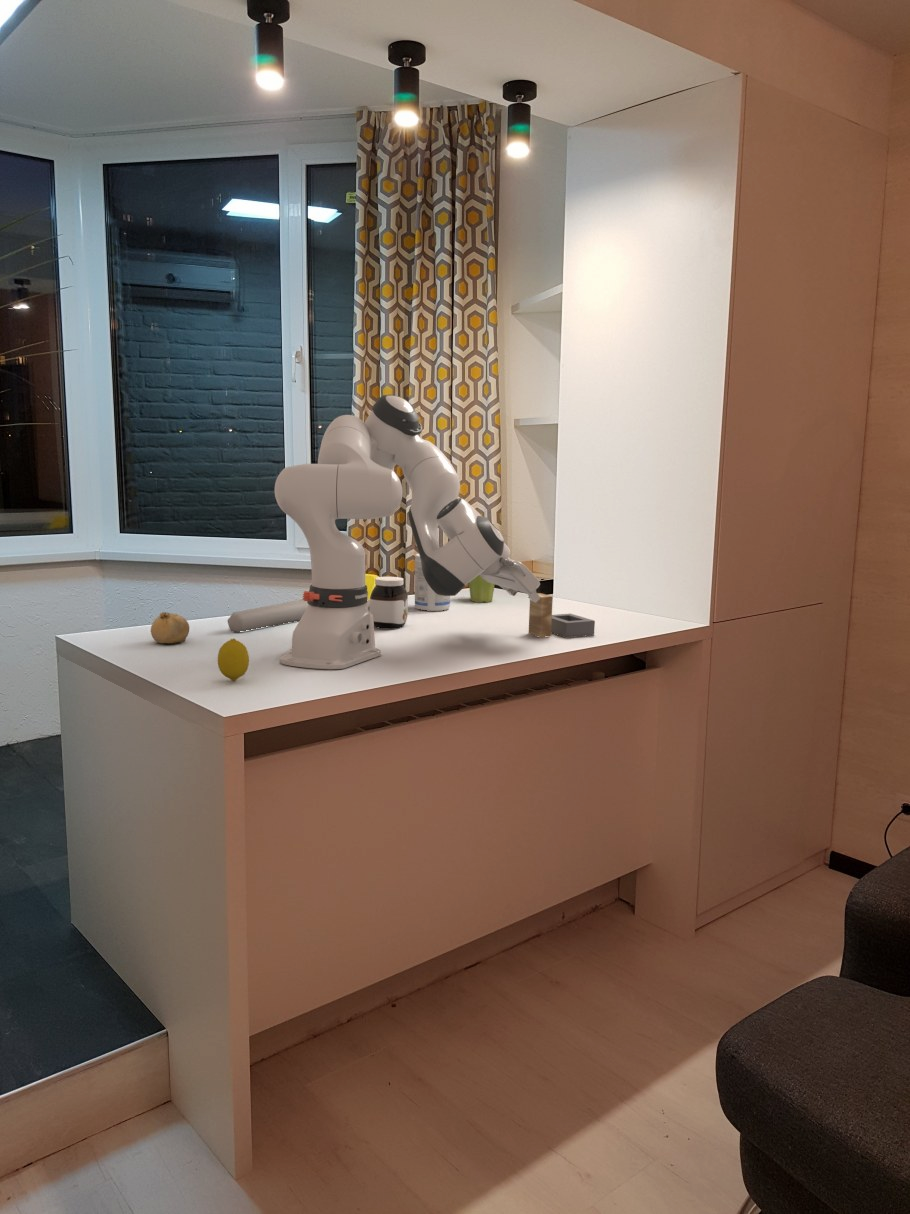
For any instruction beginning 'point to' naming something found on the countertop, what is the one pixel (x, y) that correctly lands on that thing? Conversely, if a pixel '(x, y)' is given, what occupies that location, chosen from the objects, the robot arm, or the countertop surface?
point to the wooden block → (541, 616)
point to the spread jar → (388, 603)
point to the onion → (169, 628)
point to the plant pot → (481, 590)
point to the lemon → (233, 659)
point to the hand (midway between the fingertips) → (525, 596)
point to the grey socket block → (572, 625)
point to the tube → (267, 616)
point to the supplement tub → (427, 592)
